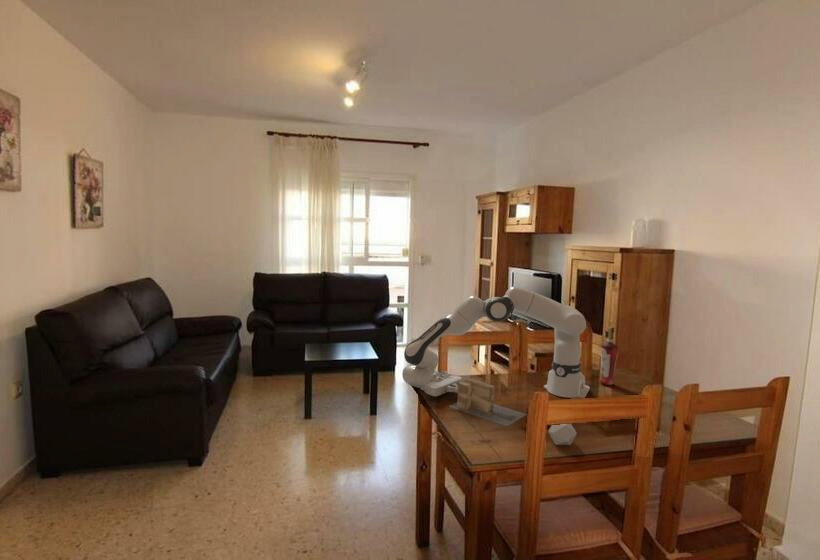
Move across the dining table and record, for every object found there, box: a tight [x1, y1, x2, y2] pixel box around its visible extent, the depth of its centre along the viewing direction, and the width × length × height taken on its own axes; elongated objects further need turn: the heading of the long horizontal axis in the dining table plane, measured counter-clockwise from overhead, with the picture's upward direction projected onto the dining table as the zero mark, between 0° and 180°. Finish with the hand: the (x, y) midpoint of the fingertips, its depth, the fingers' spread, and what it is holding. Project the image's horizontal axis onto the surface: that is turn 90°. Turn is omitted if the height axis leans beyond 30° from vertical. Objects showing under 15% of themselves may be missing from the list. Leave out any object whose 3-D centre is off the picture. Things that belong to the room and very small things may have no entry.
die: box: [547, 423, 577, 446], centre depth 161 cm, size 8×9×10 cm
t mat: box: [448, 402, 528, 427], centre depth 187 cm, size 16×27×1 cm, turn 49°
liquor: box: [598, 326, 619, 386], centre depth 224 cm, size 7×7×28 cm
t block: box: [456, 376, 495, 413], centre depth 190 cm, size 12×12×10 cm
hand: (459, 390), depth 196 cm, fingers closed
